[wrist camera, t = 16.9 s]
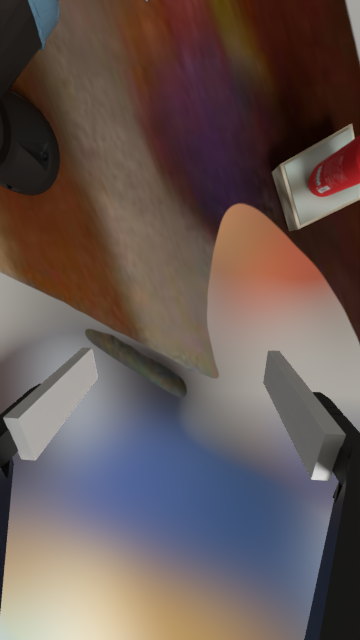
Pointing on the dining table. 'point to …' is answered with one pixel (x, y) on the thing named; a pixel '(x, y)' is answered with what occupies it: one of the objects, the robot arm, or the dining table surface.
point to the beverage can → (337, 171)
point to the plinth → (295, 178)
